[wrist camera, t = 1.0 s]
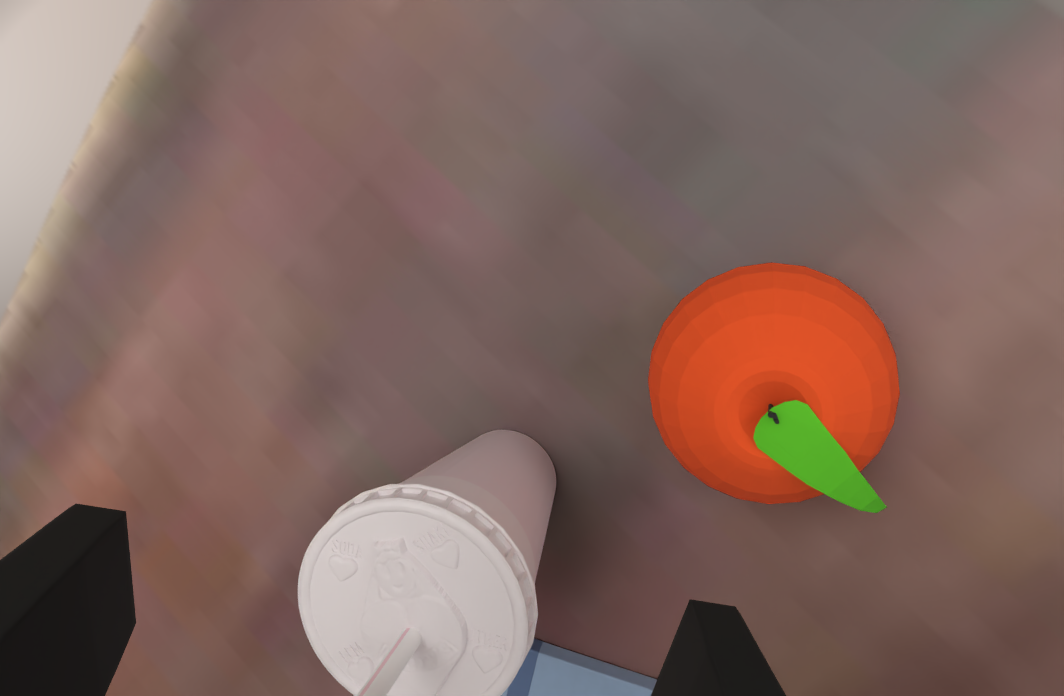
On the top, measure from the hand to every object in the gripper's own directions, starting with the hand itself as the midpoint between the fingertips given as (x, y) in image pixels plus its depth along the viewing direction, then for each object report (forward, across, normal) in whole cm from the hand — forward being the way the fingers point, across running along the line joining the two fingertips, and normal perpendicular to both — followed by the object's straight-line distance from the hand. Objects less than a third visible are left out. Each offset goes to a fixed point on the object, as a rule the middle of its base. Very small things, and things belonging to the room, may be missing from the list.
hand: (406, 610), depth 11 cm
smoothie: (+16, -2, +11) cm, 20 cm away
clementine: (+16, -10, +4) cm, 20 cm away
